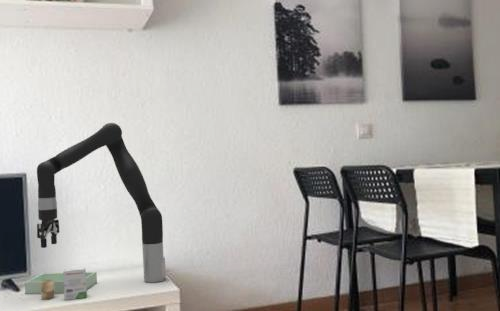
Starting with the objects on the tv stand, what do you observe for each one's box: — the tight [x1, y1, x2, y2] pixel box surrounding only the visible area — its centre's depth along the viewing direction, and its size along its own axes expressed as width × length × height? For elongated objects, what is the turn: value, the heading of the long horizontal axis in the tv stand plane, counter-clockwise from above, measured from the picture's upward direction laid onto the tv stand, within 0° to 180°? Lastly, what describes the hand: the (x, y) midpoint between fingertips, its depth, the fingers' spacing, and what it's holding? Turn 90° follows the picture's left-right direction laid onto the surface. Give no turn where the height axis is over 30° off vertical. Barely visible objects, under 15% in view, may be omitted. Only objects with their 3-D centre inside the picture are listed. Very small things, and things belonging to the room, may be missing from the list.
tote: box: [24, 271, 98, 295], centre depth 225 cm, size 26×16×5 cm, turn 85°
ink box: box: [62, 267, 88, 301], centre depth 209 cm, size 8×5×12 cm, turn 105°
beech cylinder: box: [40, 280, 56, 301], centre depth 210 cm, size 5×5×7 cm
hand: (49, 245), depth 218 cm, fingers open, 8 cm apart
